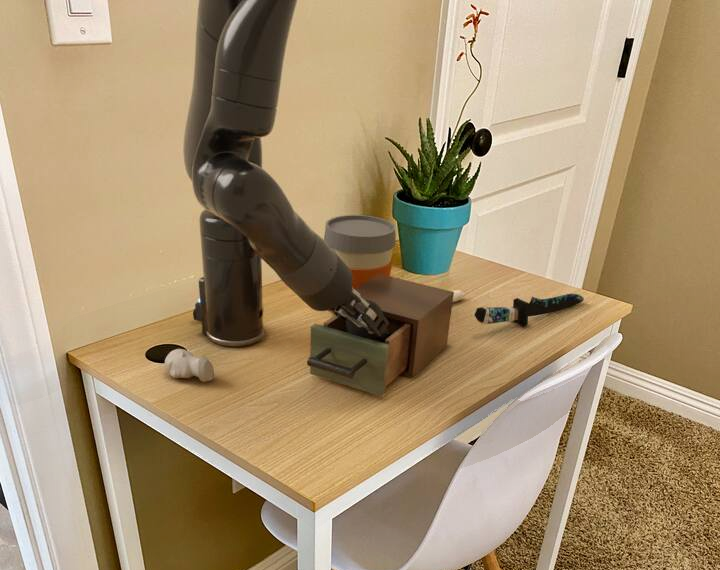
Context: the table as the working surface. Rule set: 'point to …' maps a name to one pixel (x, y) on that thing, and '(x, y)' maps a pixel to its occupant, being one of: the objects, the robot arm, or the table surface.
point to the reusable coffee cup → (362, 245)
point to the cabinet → (414, 314)
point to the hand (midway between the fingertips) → (372, 331)
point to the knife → (526, 309)
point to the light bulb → (360, 330)
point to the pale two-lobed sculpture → (188, 365)
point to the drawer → (359, 355)
